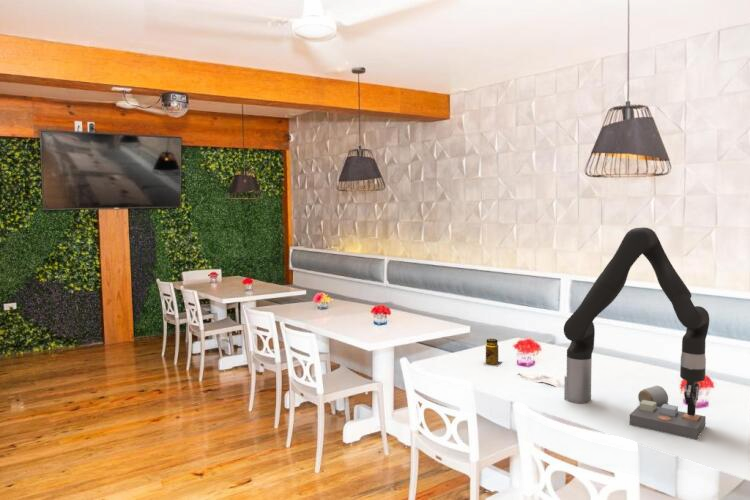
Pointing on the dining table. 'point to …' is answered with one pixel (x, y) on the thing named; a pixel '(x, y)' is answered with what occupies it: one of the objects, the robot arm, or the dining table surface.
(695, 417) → the terracotta key
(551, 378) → the cloth
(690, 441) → the dining table surface
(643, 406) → the sage key
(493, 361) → the condiment
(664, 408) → the blue key
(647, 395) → the ceramic mug
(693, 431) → the key panel
